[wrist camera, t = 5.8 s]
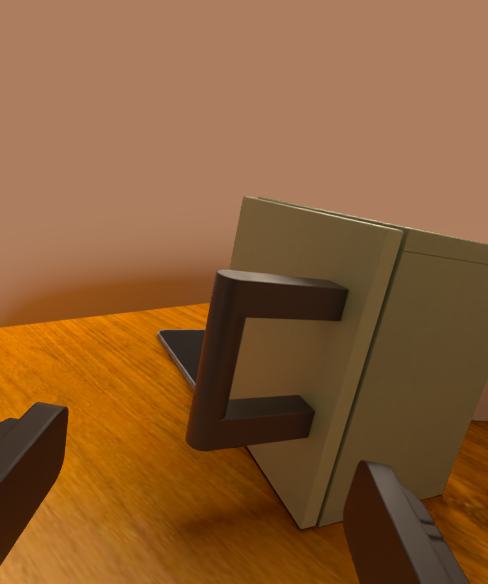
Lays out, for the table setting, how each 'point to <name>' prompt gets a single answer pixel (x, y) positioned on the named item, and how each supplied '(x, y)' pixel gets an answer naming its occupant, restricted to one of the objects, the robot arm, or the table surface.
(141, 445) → the table surface
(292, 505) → the cupboard door
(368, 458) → the cupboard
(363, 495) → the robot arm
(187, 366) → the smartphone
